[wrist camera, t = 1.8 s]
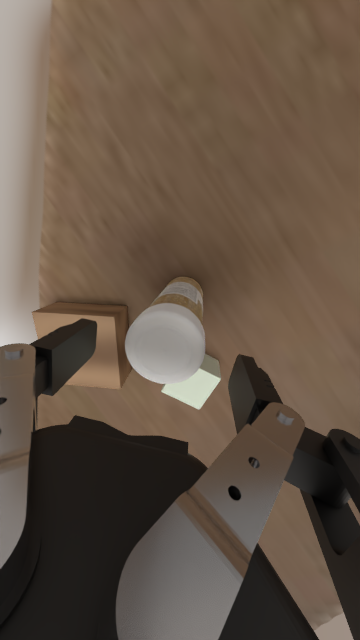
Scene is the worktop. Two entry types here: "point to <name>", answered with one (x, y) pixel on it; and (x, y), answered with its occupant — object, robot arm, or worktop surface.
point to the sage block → (196, 384)
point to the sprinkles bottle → (169, 334)
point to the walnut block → (110, 354)
